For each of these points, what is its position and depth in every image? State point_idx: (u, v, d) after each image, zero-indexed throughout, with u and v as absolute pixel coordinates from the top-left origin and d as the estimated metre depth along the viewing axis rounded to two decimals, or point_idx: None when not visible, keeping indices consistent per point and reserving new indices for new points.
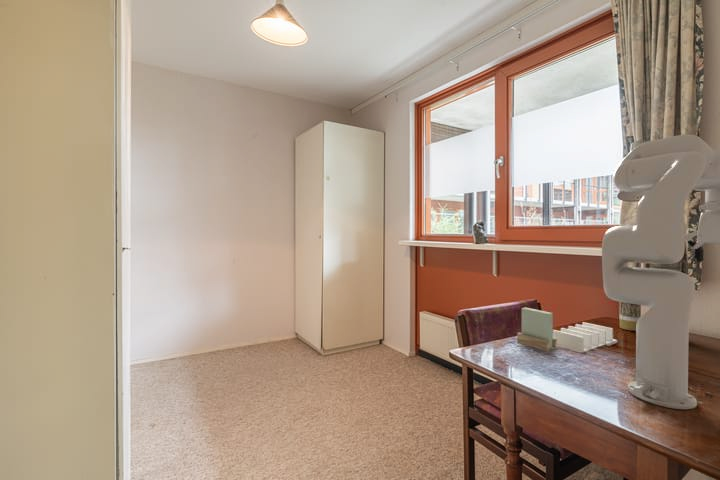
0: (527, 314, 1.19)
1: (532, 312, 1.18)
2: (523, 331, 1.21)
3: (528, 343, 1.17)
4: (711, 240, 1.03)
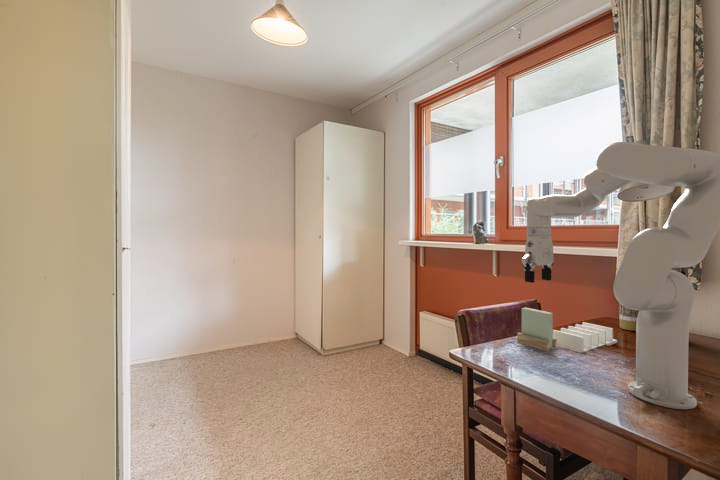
0: (527, 314, 1.19)
1: (532, 312, 1.18)
2: (523, 331, 1.21)
3: (528, 343, 1.17)
4: (543, 263, 1.14)
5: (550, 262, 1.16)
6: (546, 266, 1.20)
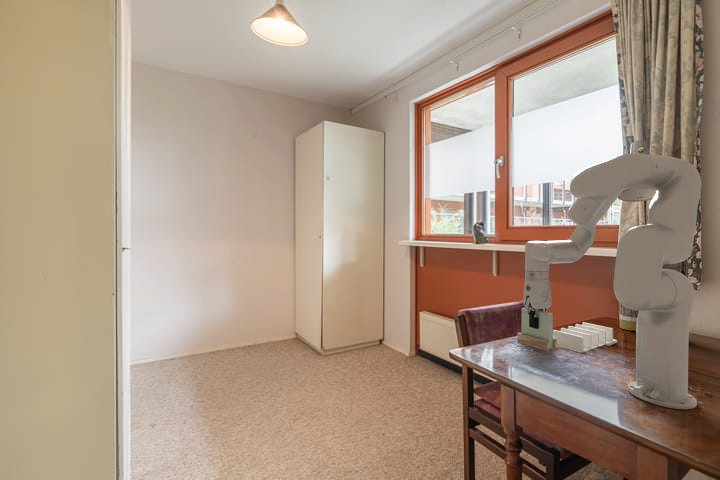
0: (527, 314, 1.19)
1: None
2: (523, 331, 1.21)
3: (528, 343, 1.17)
4: (541, 306, 1.14)
5: (548, 305, 1.16)
6: None
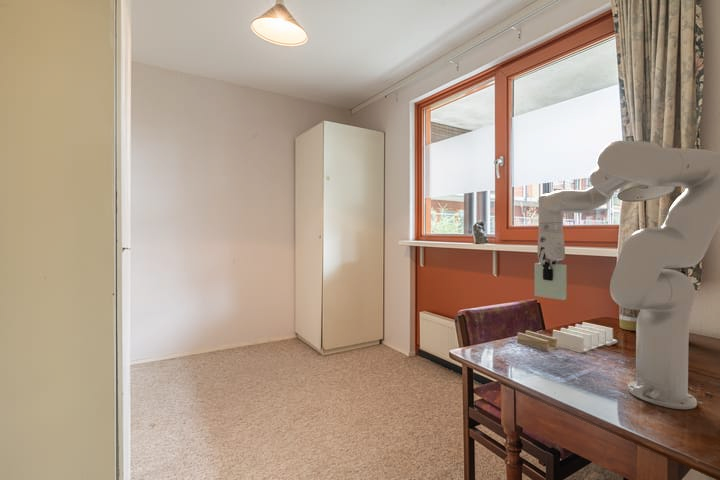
0: (540, 268, 1.20)
1: None
2: (536, 286, 1.21)
3: (528, 343, 1.17)
4: (556, 258, 1.15)
5: (562, 257, 1.17)
6: None
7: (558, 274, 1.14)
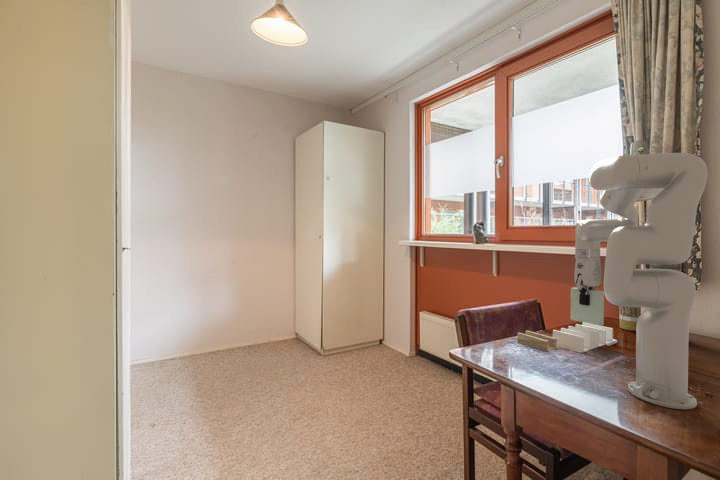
0: (576, 294, 1.23)
1: None
2: (572, 310, 1.24)
3: (528, 343, 1.17)
4: (593, 284, 1.18)
5: (599, 283, 1.20)
6: (589, 289, 1.22)
7: (595, 300, 1.17)
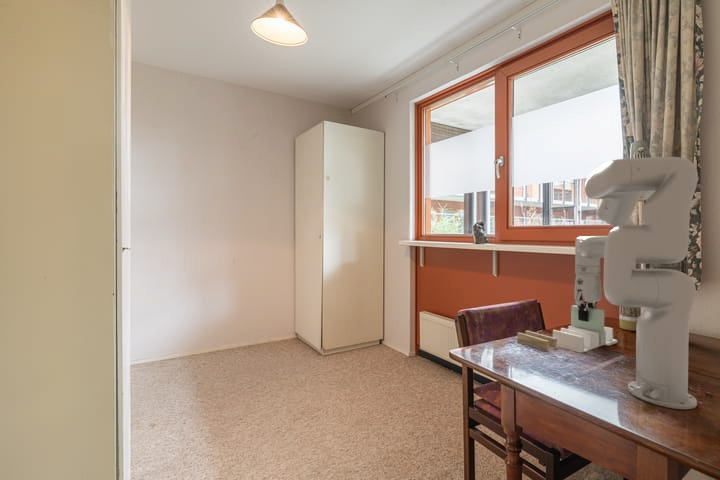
0: (577, 312, 1.23)
1: None
2: None
3: (528, 343, 1.17)
4: (593, 300, 1.18)
5: (599, 299, 1.20)
6: (590, 305, 1.22)
7: (596, 319, 1.17)
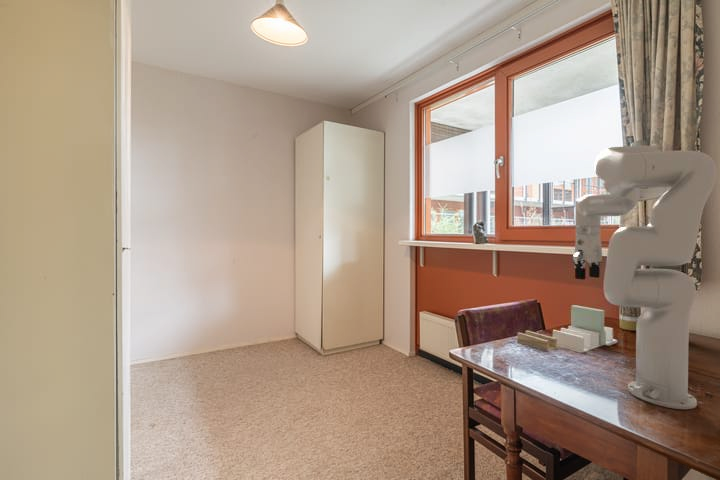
0: (577, 312, 1.23)
1: (582, 309, 1.21)
2: None
3: (528, 343, 1.17)
4: (593, 260, 1.17)
5: (599, 260, 1.19)
6: (594, 264, 1.23)
7: (596, 319, 1.17)
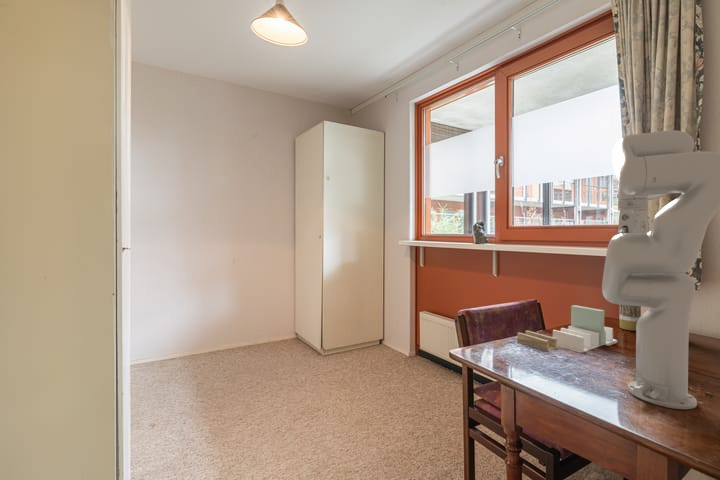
0: (577, 312, 1.23)
1: (582, 309, 1.21)
2: None
3: (528, 343, 1.17)
4: None
5: None
6: None
7: (596, 319, 1.17)
